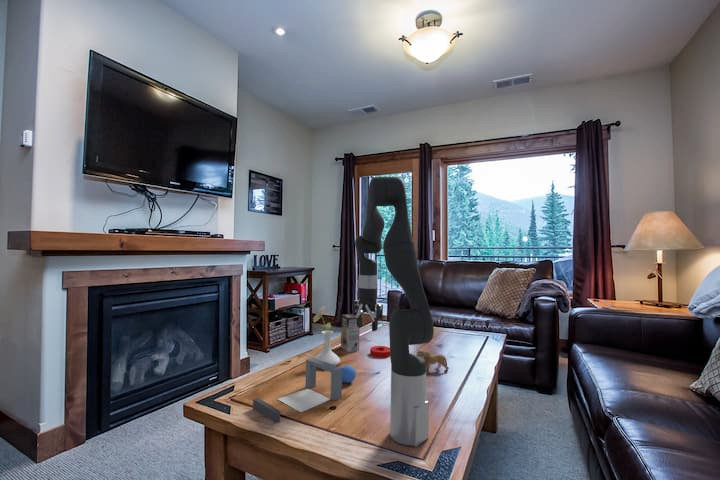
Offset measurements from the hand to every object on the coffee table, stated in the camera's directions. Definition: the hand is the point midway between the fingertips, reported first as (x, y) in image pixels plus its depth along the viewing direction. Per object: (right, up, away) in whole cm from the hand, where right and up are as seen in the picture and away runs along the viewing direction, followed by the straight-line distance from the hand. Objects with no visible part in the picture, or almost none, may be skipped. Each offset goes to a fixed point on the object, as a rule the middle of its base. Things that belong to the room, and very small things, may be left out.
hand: (366, 328), depth 132 cm
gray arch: (-15, -17, -17) cm, 28 cm away
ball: (-7, -15, -8) cm, 18 cm away
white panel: (-21, -17, -23) cm, 35 cm away
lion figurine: (+26, -19, +5) cm, 33 cm away
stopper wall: (-30, -17, -33) cm, 48 cm away
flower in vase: (-17, -18, +9) cm, 27 cm away
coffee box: (-8, -19, +33) cm, 39 cm away
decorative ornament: (+7, -19, +25) cm, 32 cm away
